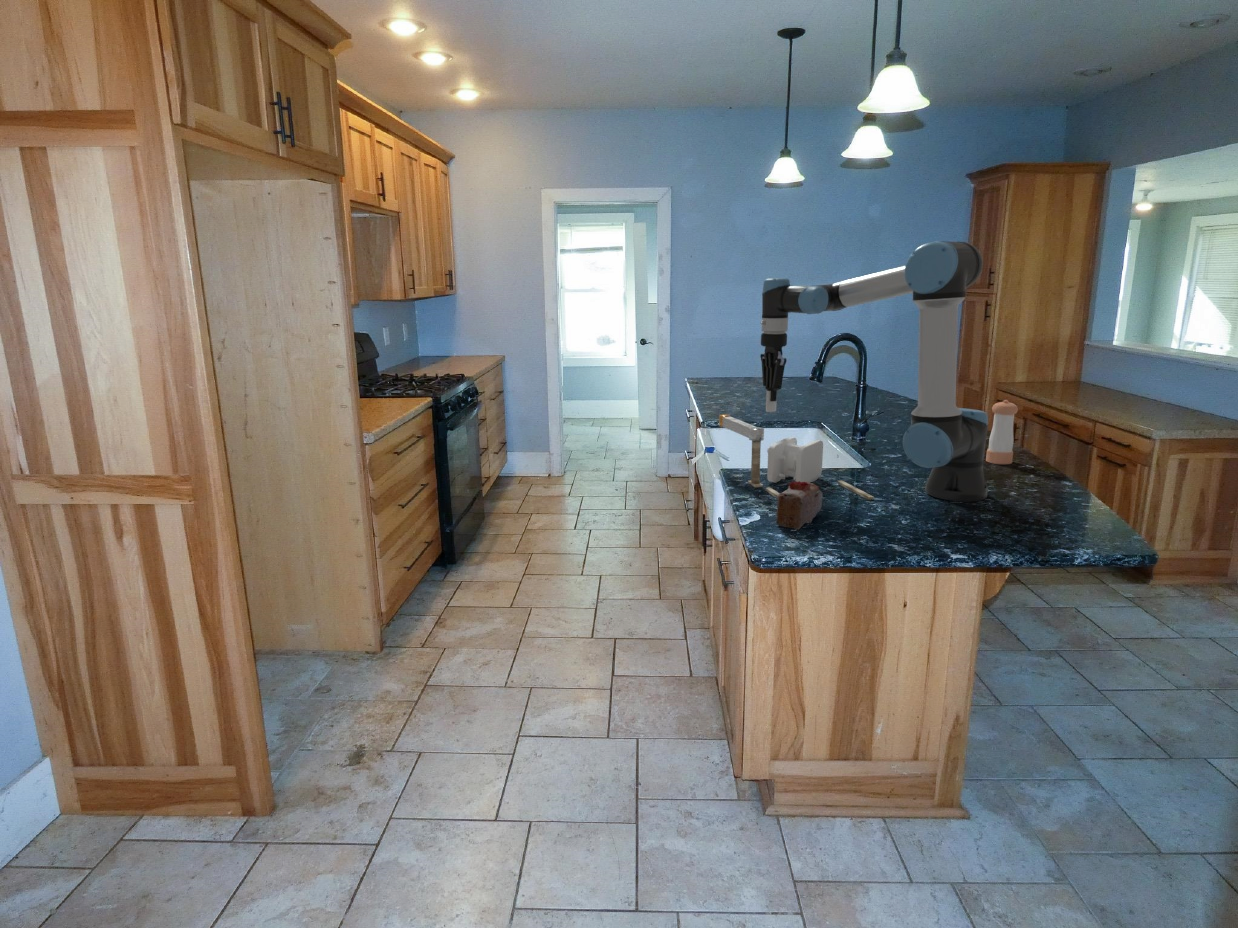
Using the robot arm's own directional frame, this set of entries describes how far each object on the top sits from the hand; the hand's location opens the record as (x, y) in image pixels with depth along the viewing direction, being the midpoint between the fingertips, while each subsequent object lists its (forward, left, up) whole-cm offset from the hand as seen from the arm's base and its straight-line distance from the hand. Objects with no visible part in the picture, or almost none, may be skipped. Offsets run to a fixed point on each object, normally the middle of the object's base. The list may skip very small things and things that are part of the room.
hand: (770, 411), depth 221 cm
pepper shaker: (-16, -69, -18) cm, 73 cm away
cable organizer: (-16, 0, -18) cm, 24 cm away
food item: (-47, +14, -18) cm, 52 cm away
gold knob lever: (-6, +13, -4) cm, 15 cm away
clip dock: (-26, +1, -17) cm, 31 cm away
